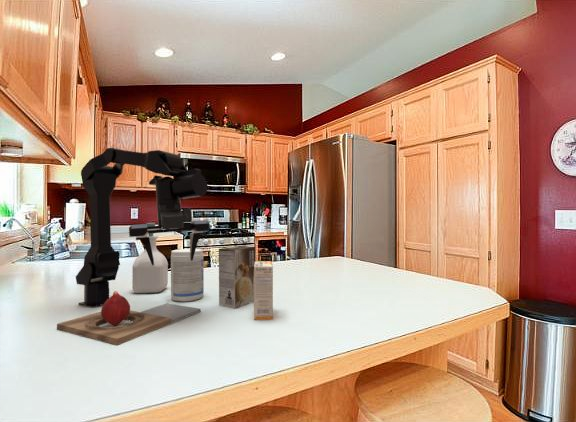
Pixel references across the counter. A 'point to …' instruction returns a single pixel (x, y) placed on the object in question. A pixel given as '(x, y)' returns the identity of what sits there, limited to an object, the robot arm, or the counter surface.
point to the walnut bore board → (117, 334)
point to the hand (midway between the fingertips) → (172, 262)
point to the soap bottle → (150, 270)
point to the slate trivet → (172, 311)
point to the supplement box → (263, 290)
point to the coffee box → (236, 276)
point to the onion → (115, 309)
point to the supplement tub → (187, 275)
